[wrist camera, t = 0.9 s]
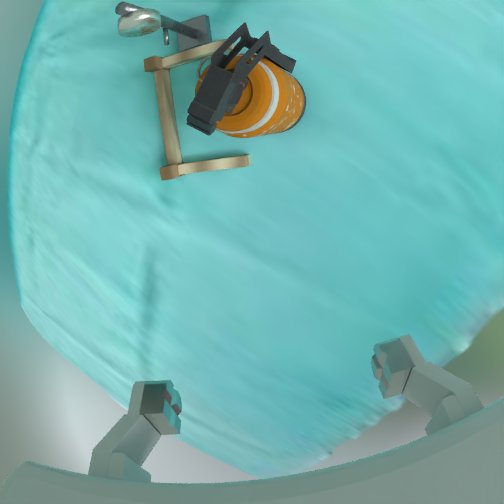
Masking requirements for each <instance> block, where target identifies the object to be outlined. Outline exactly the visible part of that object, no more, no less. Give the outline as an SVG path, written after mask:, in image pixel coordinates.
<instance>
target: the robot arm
mask: <svg viewBox="0 0 504 504" xmlns="http://www.w3.org/2000/svg"><path fill="white" fill-rule="evenodd" d="M373 350H374V353H375V354H374V355H373V356H372V360H371V365H372V371H373V374H374V377H375V378H376V379H378V380H379V381H380V383H379V389H380V391H381V393H382V396H383V398H384V399H385V398H389V397H392V396H395V395H399V394H402V395H404V396H405V397H406V398H408V399H409V400H410V401H412V402H413V403H414V404H416V405H417V406H418V407H420V408H421V409H422V410H423V411H425V412H426V413H427V414H429V415H430V416H431V417H432V418H431V419H430V421H429V422H428V424H427V426H426V427H425V430H426V433H427V436H425V437H423V438H420V439H418V440H415V441H413V442H410V443H407V444H405V445H402V446H399V447H397V448H394V449H391V450H388V451H385V452H382V453H379V454H376V455H373V456H369V457H367V458H363V459H359V460H356V461H352V462H348V463H345V464H341V465H337V466H333V467H329V468H324V469H319V470H315V471H310V472H305V473H299V474H294V475H288V476H281V477H274V478H267V479H259V480H250V481H239V482H225V483H197V484H196V483H195V484H183V483H182V484H181V483H178V484H177V483H153V482H151V475H150V473H148V472H147V471H146V470H144V469H143V468H141V466H142V464H143V463H144V461H145V460H146V458H147V457H148V455H149V453H150V452H151V451H152V449H153V447H154V446H155V445H156V443H157V442H158V440H159V439H160V437H161V435H166V434H180V426H181V420H180V419H179V417H178V415H179V414H180V412H181V411H182V403H181V397H180V395H179V393H178V391H177V390H175V389H173V383H172V382H171V380H163V381H140V382H135V383H134V385H133V389H132V394H131V399H130V404H129V409H128V414H126V415H124V416H123V417H122V418H121V419H120V420H119V421H118V422H117V423H116V424H115V426H114V427H113V428H112V429H111V430H110V431H109V432H108V433H107V435H106V436H105V437H104V438H103V439H102V440H101V441H100V442H99V443H98V444H97V445H96V447H95V448H94V449H93V452H92V457H91V462H90V468H89V473H88V475H86V474H81V473H75V472H70V471H66V470H61V469H57V468H53V467H49V466H45V465H41V464H38V463H34V462H30V461H25V462H23V463H22V464H20V465H19V466H18V467H17V468H15V469H14V470H13V471H12V472H11V473H10V474H9V475H8V476H7V477H6V479H5V480H4V482H3V484H2V487H1V489H0V504H504V396H503V397H502V398H500V399H498V400H497V401H495V402H493V403H492V404H490V405H488V406H486V407H485V408H484V407H483V405H482V403H481V401H480V399H479V398H478V396H477V394H476V392H475V390H474V389H473V387H472V386H471V384H469V383H467V382H465V381H463V380H461V379H460V378H458V377H456V376H454V375H452V374H451V373H449V372H447V371H445V370H443V369H442V368H440V367H438V366H436V365H434V364H433V363H431V362H427V363H426V361H425V359H424V357H423V356H422V354H421V352H420V350H419V349H418V347H417V345H416V344H415V342H414V340H413V339H412V337H411V336H410V335H409V334H408V335H404V336H401V337H398V338H393V339H390V340H387V341H384V342H380V343H377V344H375V345H374V349H373Z"/></svg>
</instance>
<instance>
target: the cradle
mask: <svg viewBox="0 0 504 504" xmlns="http://www.w3.org/2000/svg"><path fill="white" fill-rule="evenodd" d="M226 40H227V39H224V40H220V41H216V42H213V43H209V44H206V45H202V46H199V47H195V48H192V49H189V50H186V51H183V52H180V53H177V54H174V55H171V56H168V57H165V58H162V57H157V56H152V57H150V58H147V59H145V60H144V68H145V72H153V73H154V77H155V85H156V92H157V100H158V107H159V113H160V120H161V127H162V133H163V139H164V145H165V151H166V157H167V163H168V165H167V166H163V167H160V174H161V179H162V180H169V179H174V178H176V177H179V176H182V175H184V174H188V173H195V172H203V171H211V170H219V169H228V168H238V167H246V166H249V165H251V162H250V155H241V156H232V157H224V158H217V159H209V160H202V161H196V162H189V163H184V162H182V156H181V150H180V144H179V138H178V131H177V125H176V118H175V112H174V105H173V98H172V91H171V83H170V76H169V70H170V68H173V67H176V66H179V65H182V64H186V63H189V62H192V61H196V60H199V59H203V58H206V57H208V56H212V54H213V53H214V52H215V51H216V50H217V49H218V48H219V47H220V46H221V45H222V44H223V43H224V42H225V41H226ZM233 48H234V44H232V45H231V46H230V47H229V48H228V49H227V50H226V51H225V52H224V53H226V52H230V51H231V50H232V49H233Z"/></svg>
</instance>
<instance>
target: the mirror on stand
mask: <svg viewBox="0 0 504 504" xmlns="http://www.w3.org/2000/svg"><path fill="white" fill-rule="evenodd" d="M115 12H116V14H119V15H123V16H121V17H120V18H119V19H118V34H119V35H120V36H123V37H137V36H143V35H146V34H150V33H152V32H154V31H156V30H158V29H159V28H160V27H162V28H163V35H164V44H165V45H168V44H169V37H168V30H171V31H174V32H177V37H178V45H179V51H180V52H183V51H186V50H189V49H192V48H195V47H199V46H202V45H206V44H209V43H212V38H211V31H210V24H209V17H208V16H207V15H202V16H199V17H196V18H193V19H190V20H187V21H184V22H181V23H180V22H178V21H176V20H173V19H171V18H168V17H166V16H163V15H160V12H159V11H157V10H155V9H144V8H141V7H138V6H135V5H132V4H129V3H126V2H121V3H119V4H118V5H117V7H116V10H115Z"/></svg>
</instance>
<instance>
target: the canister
mask: <svg viewBox="0 0 504 504" xmlns="http://www.w3.org/2000/svg"><path fill="white" fill-rule="evenodd" d="M240 36H241V40H240V41H239V42H238V43H237V45H236V46H235V47H234V48H233V49H232V50H231V52H230V53H229V54H228V55H225V54H223V53H224V52H225V51H226V50H227V49H228V48H229V47H230V46H231V45H232V44H233V43H234V42H235V41H236V40H237V39H238V38H239V37H240ZM244 46H245V47H247V48H248V49H249V50H248V51H247V52H246V53H245V54H238V53H239V52H240V50H241V49H242V48H243V47H244ZM279 51H280V50H279V49H278V48H277V47H275V46H274V45H272V44H271V42H270V37H269V32H268V31H266V32H265V33H264V34H263V35H262V36H261V37H260V39H257V38H252V37H251V36H250V34H249V31H248V28H247V25H246V23H244V24H242V25H241V26H240V27H239V28H238V29H237V30H236V31H235V32H234V33H233V34H232V35H231V36H230V37H229V38H228V39H227V40H226V41H225V42H224V43H223V44H222V45H221V46H220V47H219V48H218V49H217V50H216V51H215V52H214V53H213V54H212V56H208V57H206V58H204V59H203V60H202V61H201V63H200V64H199V66H198V69H197V78H198V82H197V85H196V89H195V98H194V100H193V101H192V102H191V104H190V107H189V109H188V113H189V115H188V117H187V125H189V126H191V127H193V128H195V129H197V130H199V131H201V132H203V133H205V134H206V135H208V136H209V135H211V134H212V133H213V132H214V131H215V129H216V130H218V131H221V132H222V133H224V134H226V135H229V136H232V137H238V138H249V137H255V136H261V135H267V134H274V133H280V132H284V131H287V130H289V129H291V128H292V127H294V126H295V125H296V124H297V123H298V122H299V121H300V119H301V118H302V116H303V114H304V111H305V107H306V97H305V93H304V90H303V88H302V86H301V85H300V83H299V82H298V81H297V80H296V79H295V78H294V77H293V76H291V75H290V74H288V73H287V72H285V71H284V70H286V71H288V72H290V73H292V71H293V68H294V66H295V63H296V60H294V59H292V58H290V57H288V56H286V55H284V54H282V53H281V52H279ZM254 53H257V55H254ZM210 58H211V64H210V65H209V66H208V67H207V68H206V69H205V70H204V71H203V72H202V74H201V76H200V69H201V66H202V65H203V63H204V62H205V61H206V60H207V59H210ZM279 67H280V68H279ZM281 68H282V69H284V70H282V69H281ZM188 122H189V123H188Z"/></svg>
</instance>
